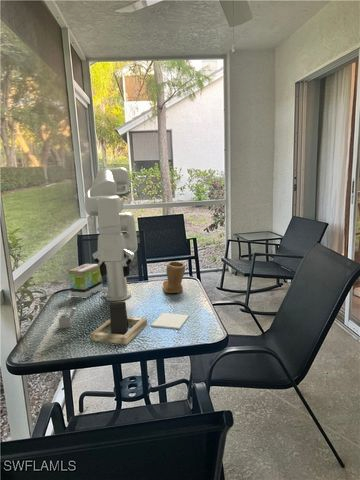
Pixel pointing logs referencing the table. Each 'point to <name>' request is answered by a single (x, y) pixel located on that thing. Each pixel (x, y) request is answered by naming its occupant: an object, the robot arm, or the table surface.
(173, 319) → the cream mat
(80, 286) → the tea box
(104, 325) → the wooden frame
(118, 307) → the phone stand
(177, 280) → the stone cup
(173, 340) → the table surface
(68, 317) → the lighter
